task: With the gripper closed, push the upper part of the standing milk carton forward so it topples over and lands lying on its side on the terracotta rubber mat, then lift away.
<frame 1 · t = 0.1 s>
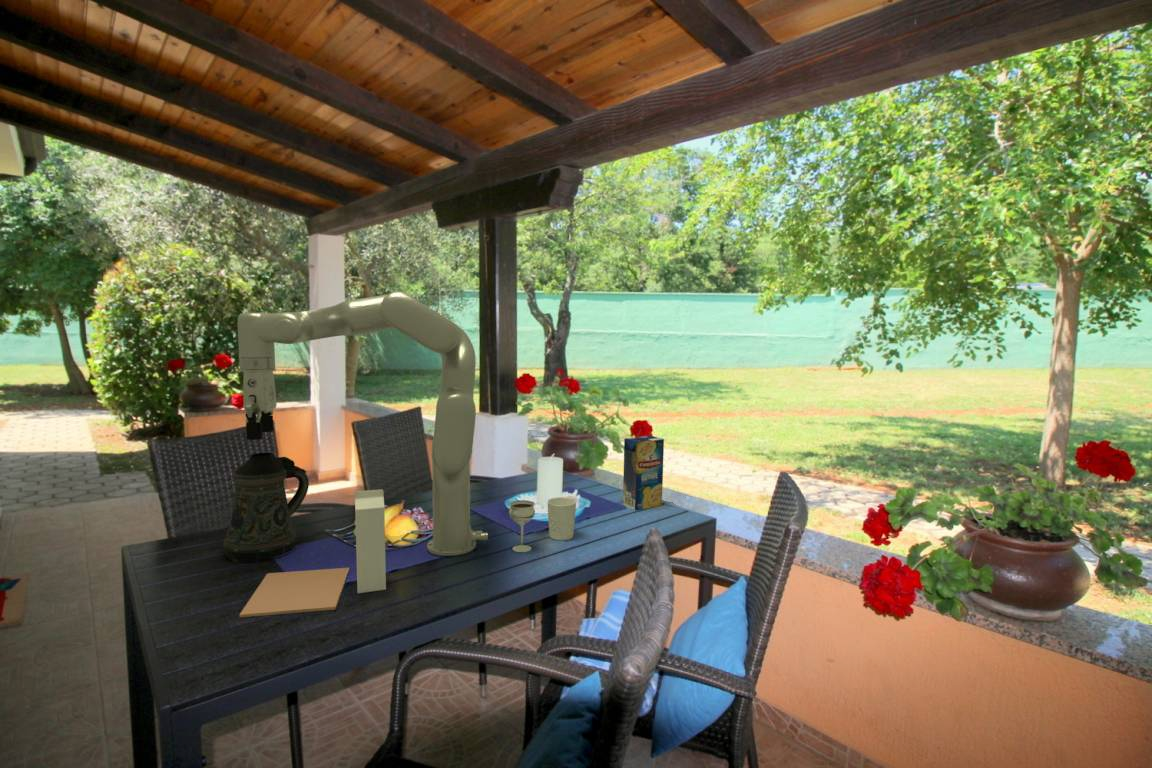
hand: (260, 435, 145), 31 cm above the table, tool pointing down, fingers open, 9 cm apart
beer stein: (265, 549, 156), on the table
mat: (299, 591, 132), on the table
wineglass: (521, 549, 159), on the table
blue boxy piece: (642, 505, 197), on the table
milk: (371, 586, 135), on the table
beige tumbler cup: (561, 536, 168), on the table
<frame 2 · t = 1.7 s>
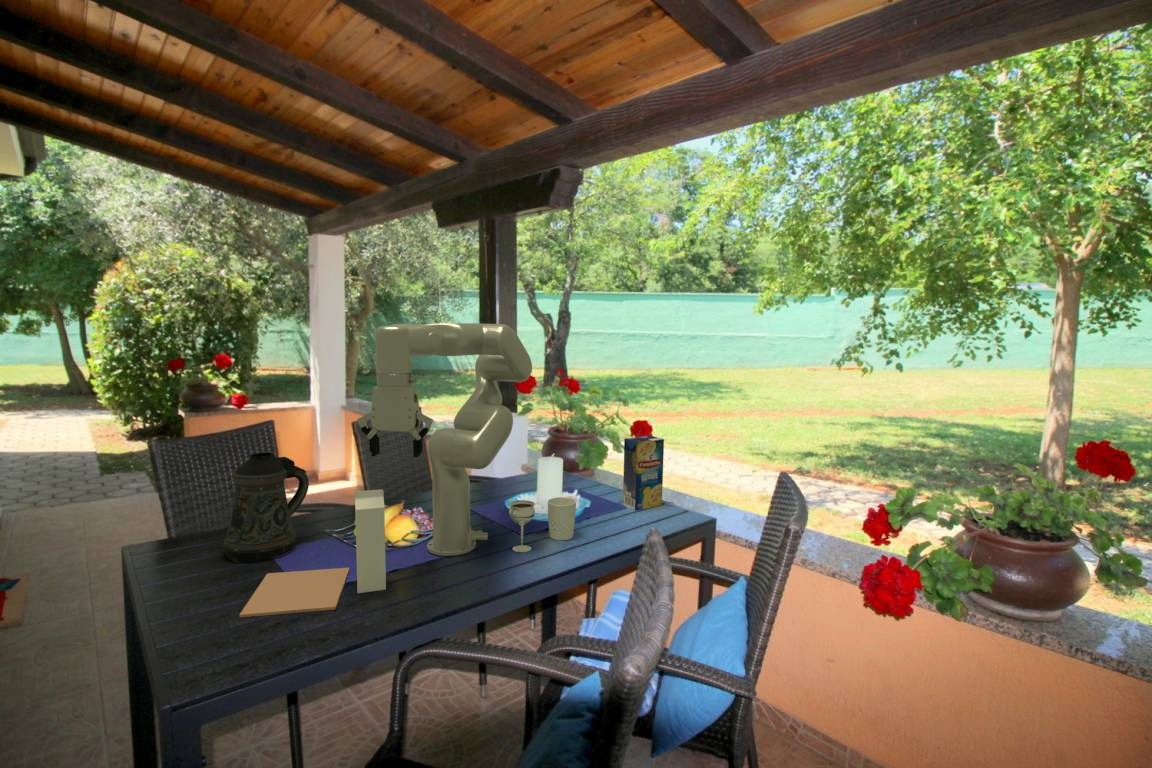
hand: (396, 455, 137), 29 cm above the table, tool pointing down, fingers open, 9 cm apart
nothing on the table moved.
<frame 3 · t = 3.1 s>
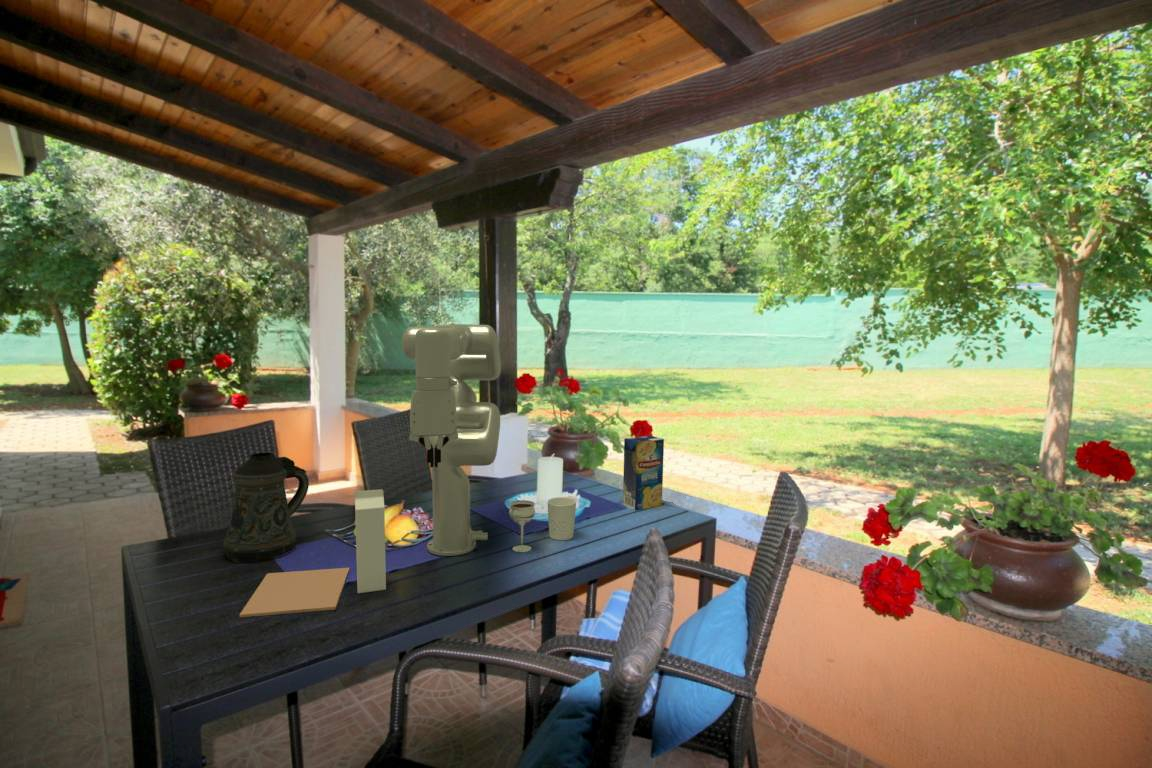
hand: (434, 465, 135), 27 cm above the table, tool pointing down, fingers closed
nothing on the table moved.
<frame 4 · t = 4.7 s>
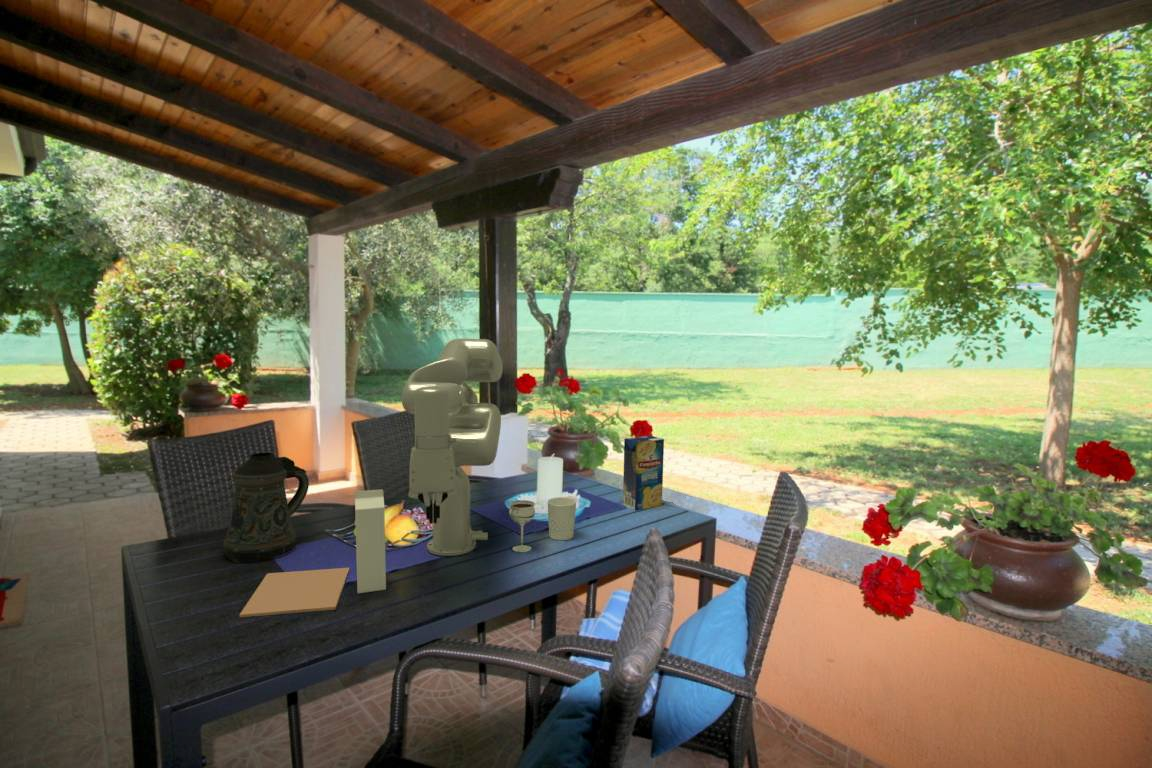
hand: (433, 521, 137), 14 cm above the table, tool pointing down, fingers closed
nothing on the table moved.
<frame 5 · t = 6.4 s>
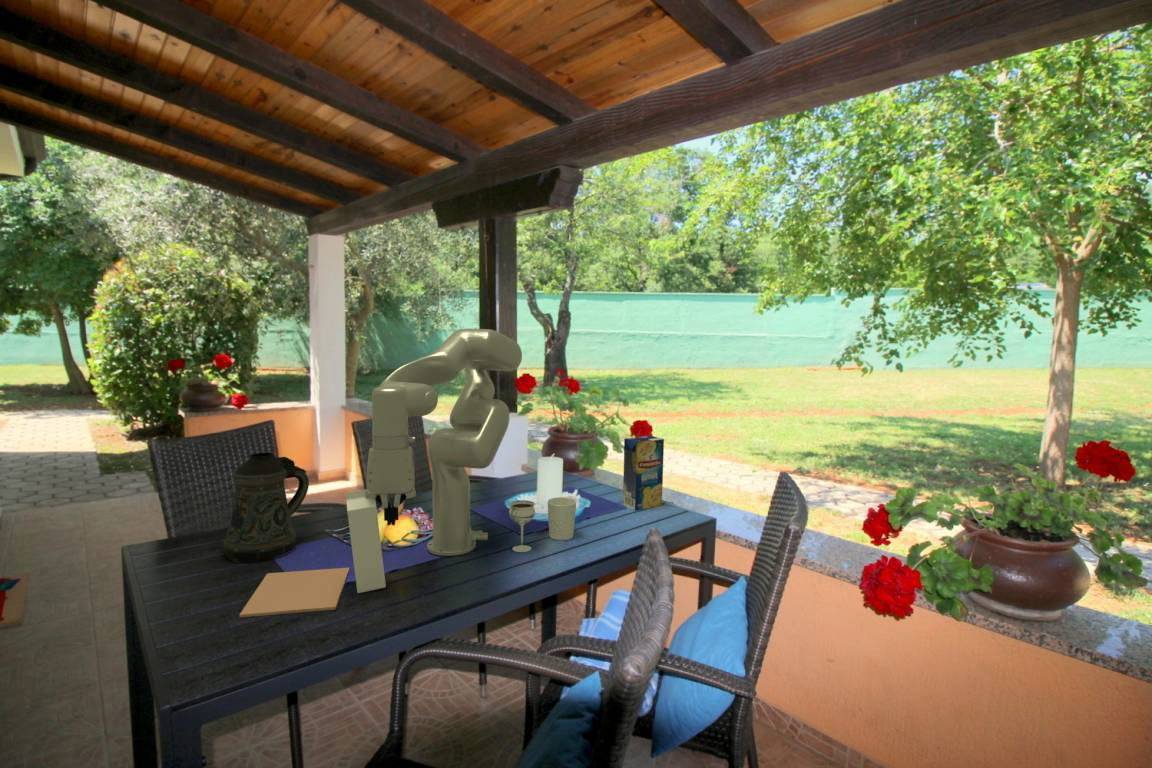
hand: (391, 523, 134), 14 cm above the table, tool pointing down, fingers closed
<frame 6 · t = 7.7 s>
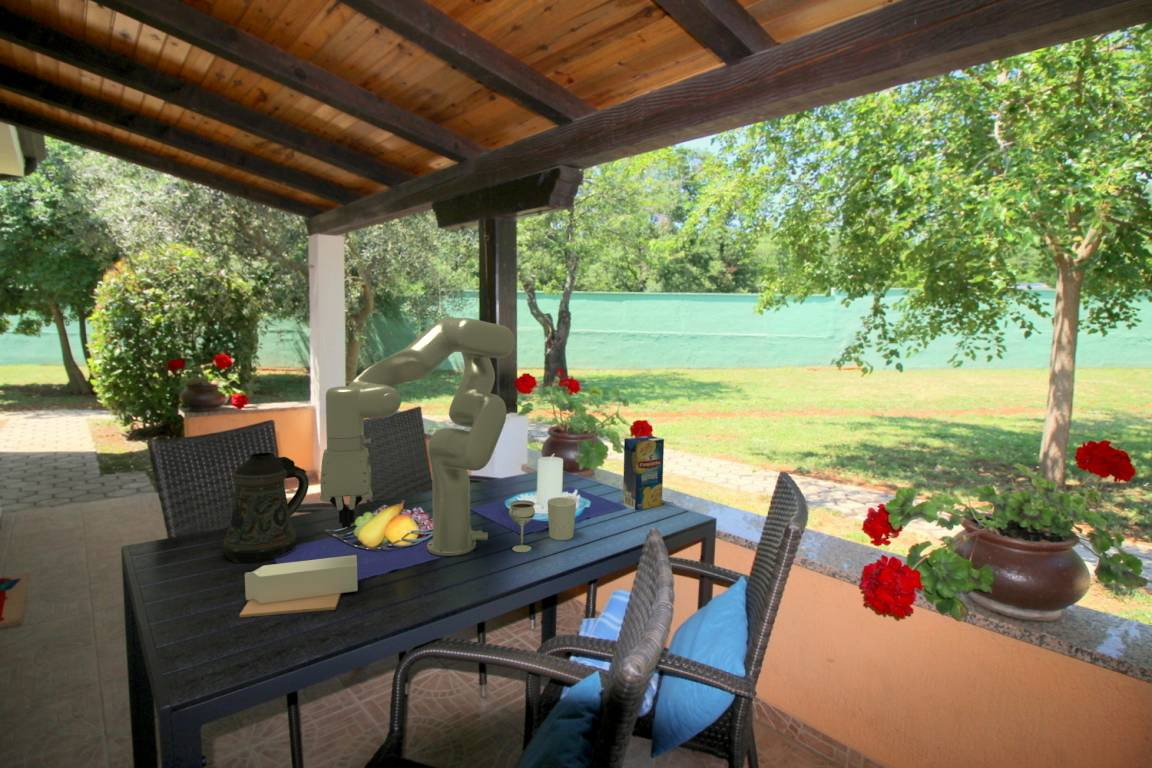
hand: (347, 525, 133), 14 cm above the table, tool pointing down, fingers closed
milk: (358, 572, 134), point 4 cm above the table, touching mat
everything else where it was.
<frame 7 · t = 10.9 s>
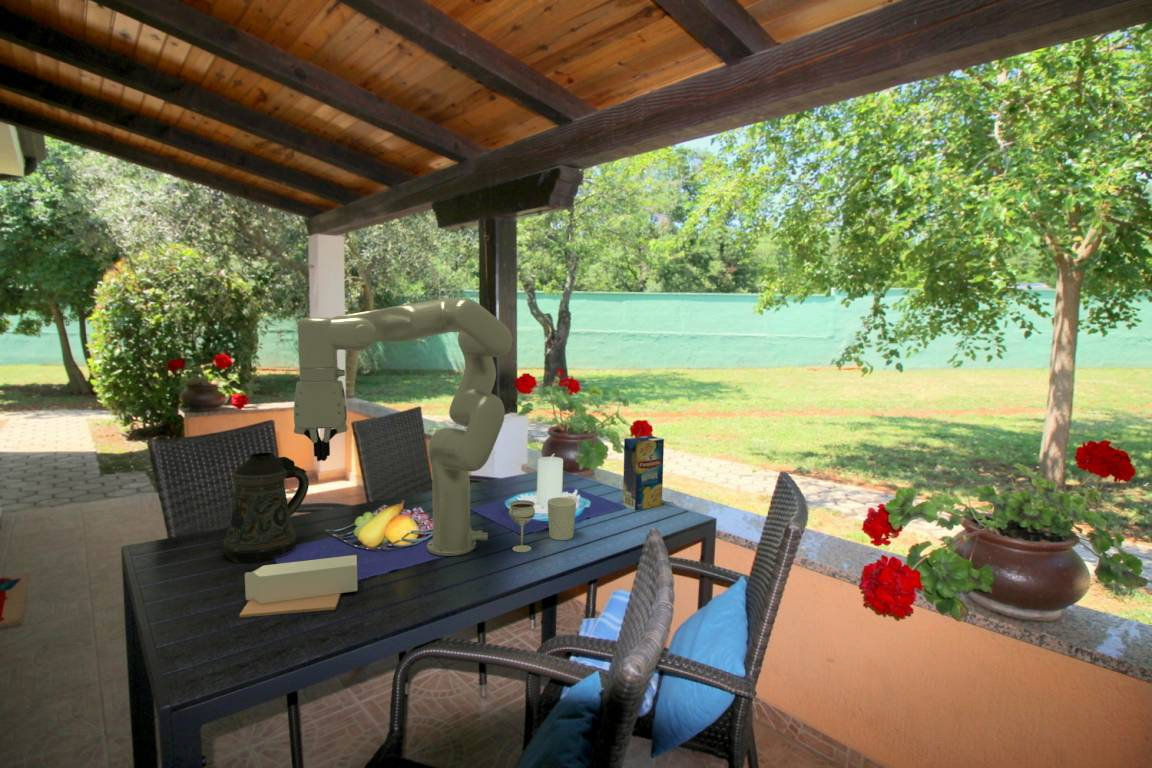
hand: (322, 459, 131), 29 cm above the table, tool pointing down, fingers closed
nothing on the table moved.
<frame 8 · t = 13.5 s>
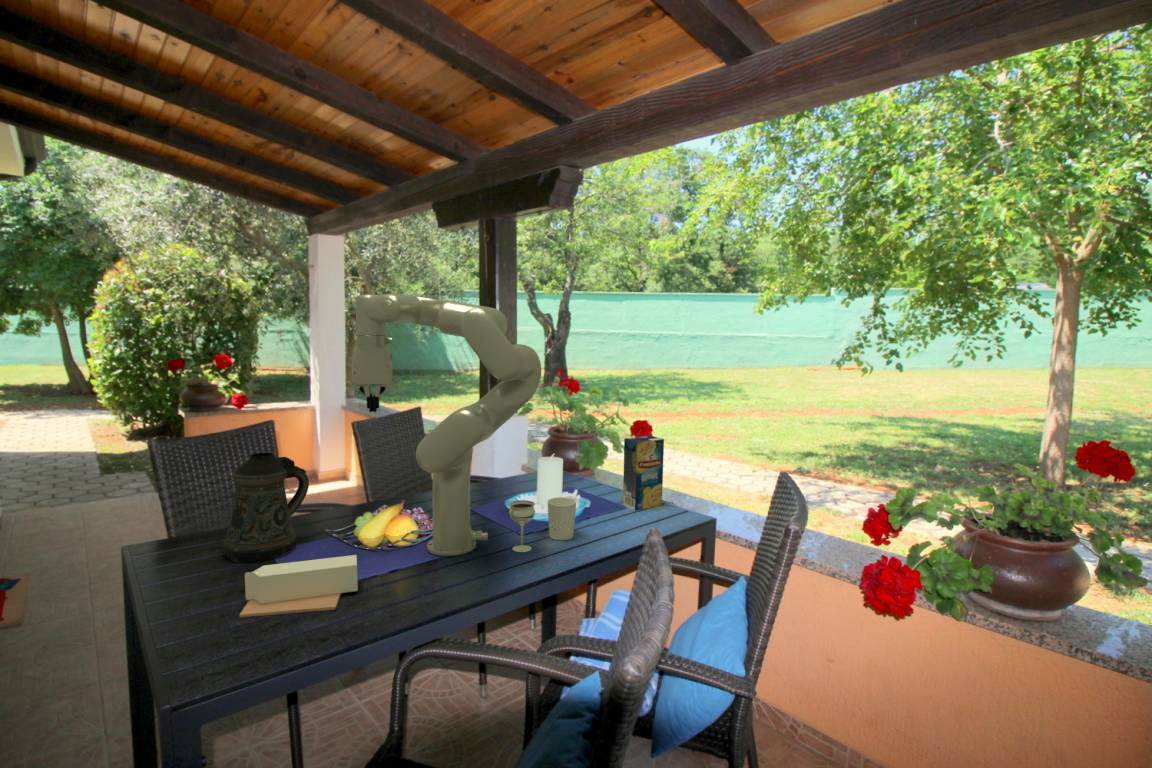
hand: (373, 411, 160), 35 cm above the table, tool pointing down, fingers closed
nothing on the table moved.
at the end: milk tilted 90°; milk touching mat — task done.
